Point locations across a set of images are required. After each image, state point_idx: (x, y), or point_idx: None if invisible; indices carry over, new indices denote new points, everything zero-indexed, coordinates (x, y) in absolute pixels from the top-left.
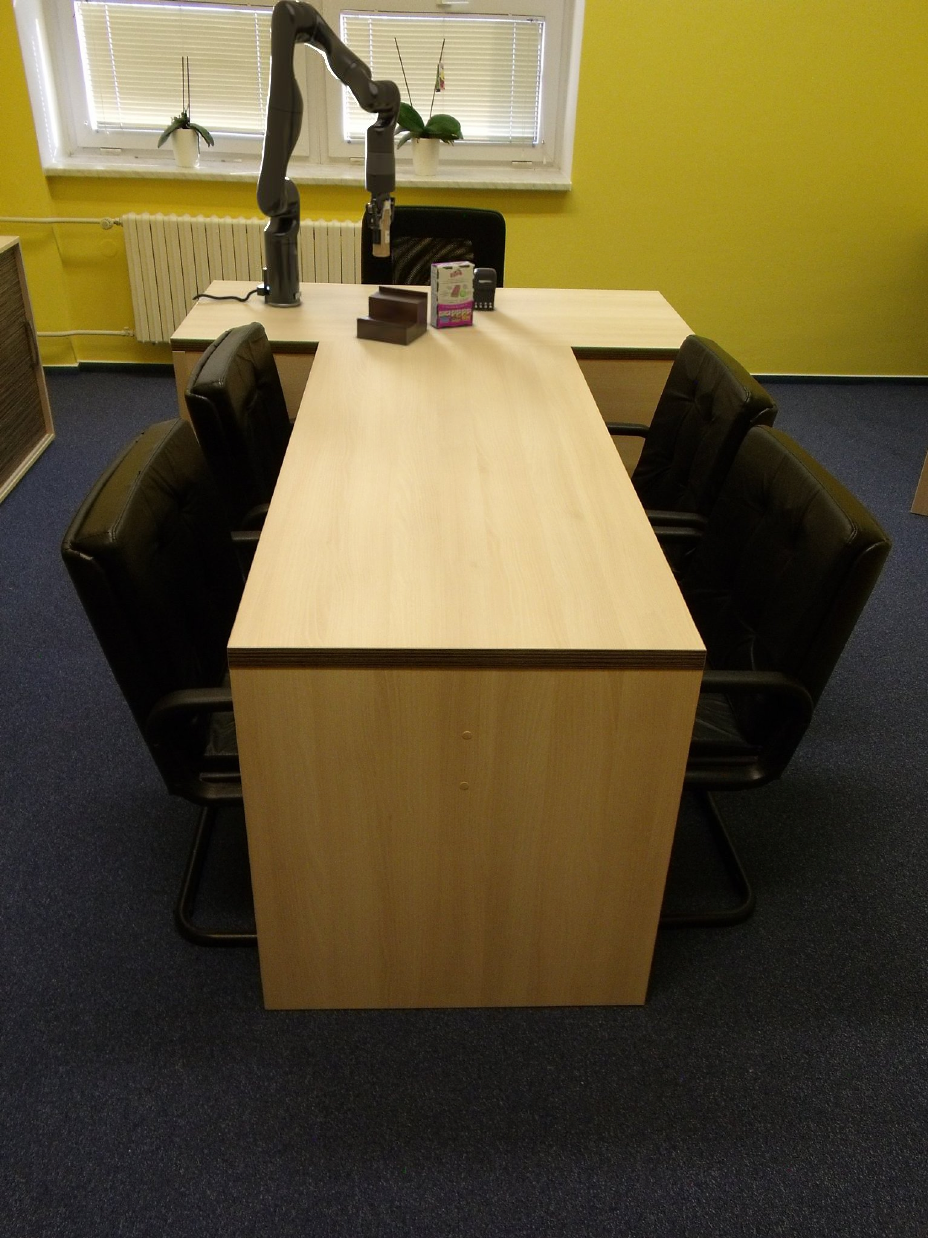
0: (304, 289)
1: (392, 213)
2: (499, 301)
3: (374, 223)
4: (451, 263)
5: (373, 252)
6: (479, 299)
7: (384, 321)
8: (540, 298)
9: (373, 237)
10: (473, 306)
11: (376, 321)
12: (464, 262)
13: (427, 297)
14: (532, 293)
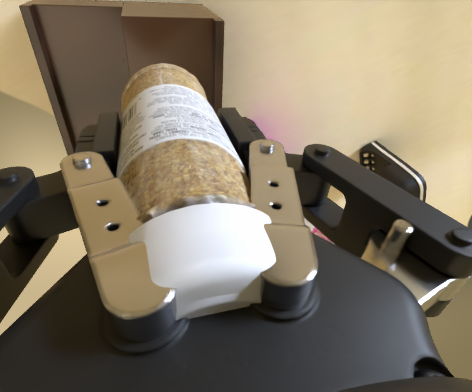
0: None
1: (323, 228)
2: (416, 162)
3: (11, 236)
4: (312, 226)
5: (133, 80)
6: (376, 163)
7: (57, 102)
8: (434, 200)
9: (78, 142)
10: (364, 151)
11: (43, 79)
12: (330, 241)
13: None
14: (460, 182)
